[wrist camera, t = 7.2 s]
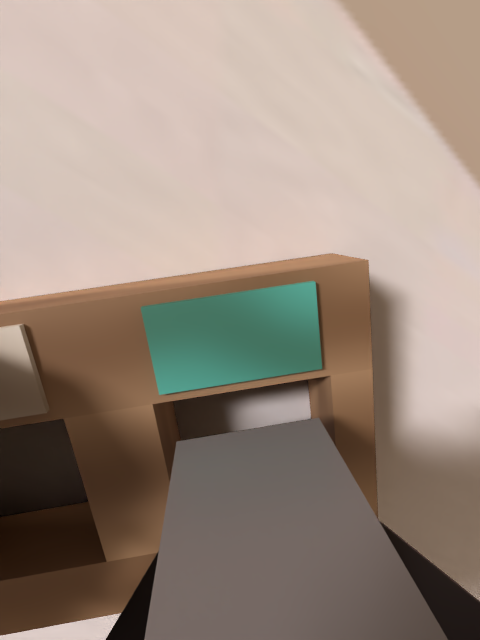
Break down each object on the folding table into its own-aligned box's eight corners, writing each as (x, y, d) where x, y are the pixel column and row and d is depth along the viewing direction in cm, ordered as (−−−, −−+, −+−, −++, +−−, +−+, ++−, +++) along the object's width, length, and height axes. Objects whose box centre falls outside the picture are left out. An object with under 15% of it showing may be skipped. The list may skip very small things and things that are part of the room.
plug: (328, 531, 11) (468, 888, 5) (200, 555, 10) (188, 954, 5) (318, 417, 10) (481, 698, 4) (176, 441, 9) (123, 773, 4)
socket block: (347, 501, 15) (382, 569, 12) (-19, 566, 15) (-80, 656, 12) (332, 253, 13) (371, 260, 9) (-124, 319, 12) (-242, 350, 9)
